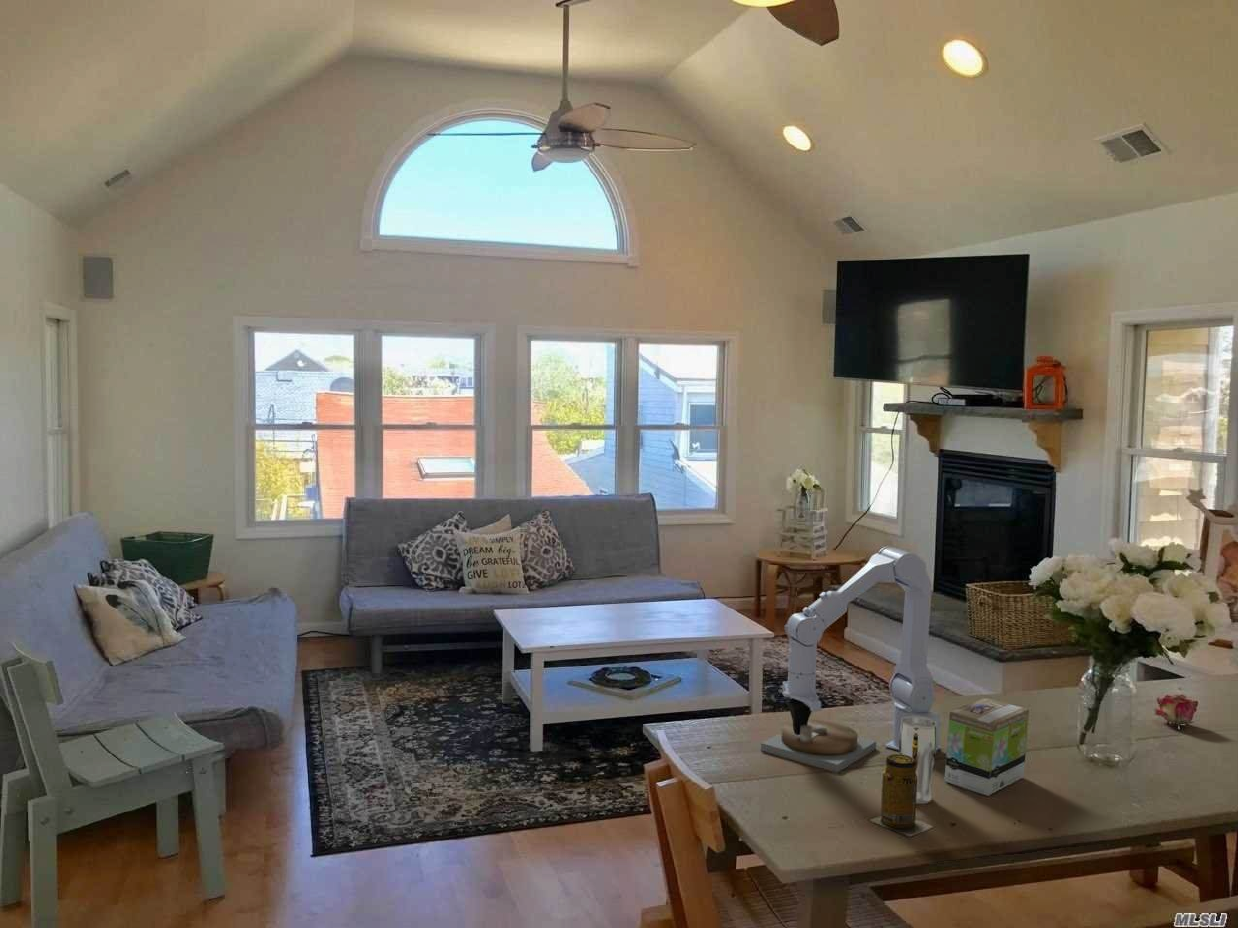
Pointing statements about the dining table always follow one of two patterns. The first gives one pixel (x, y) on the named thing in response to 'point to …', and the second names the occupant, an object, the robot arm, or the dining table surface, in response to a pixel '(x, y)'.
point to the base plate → (821, 761)
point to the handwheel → (820, 738)
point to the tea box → (986, 745)
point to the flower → (1176, 709)
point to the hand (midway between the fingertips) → (799, 733)
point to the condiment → (900, 796)
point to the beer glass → (920, 751)
